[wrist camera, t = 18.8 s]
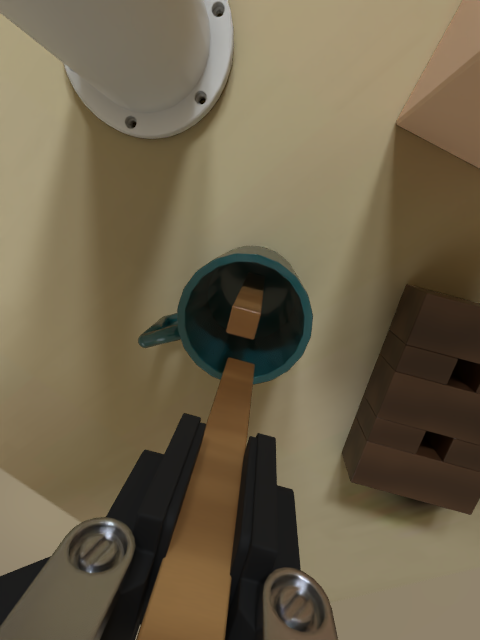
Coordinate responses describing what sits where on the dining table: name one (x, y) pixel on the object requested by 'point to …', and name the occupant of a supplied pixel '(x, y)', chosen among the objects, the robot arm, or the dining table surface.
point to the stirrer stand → (423, 405)
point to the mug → (215, 307)
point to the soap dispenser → (450, 90)
